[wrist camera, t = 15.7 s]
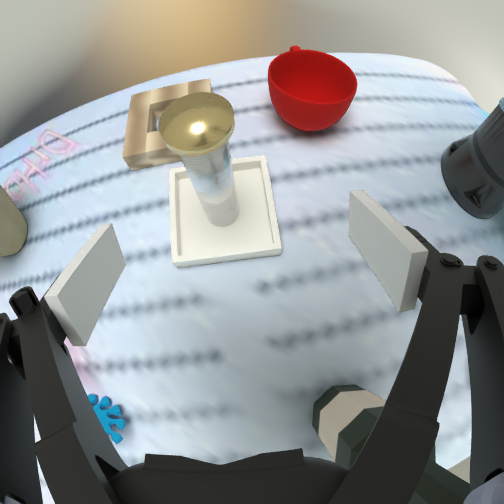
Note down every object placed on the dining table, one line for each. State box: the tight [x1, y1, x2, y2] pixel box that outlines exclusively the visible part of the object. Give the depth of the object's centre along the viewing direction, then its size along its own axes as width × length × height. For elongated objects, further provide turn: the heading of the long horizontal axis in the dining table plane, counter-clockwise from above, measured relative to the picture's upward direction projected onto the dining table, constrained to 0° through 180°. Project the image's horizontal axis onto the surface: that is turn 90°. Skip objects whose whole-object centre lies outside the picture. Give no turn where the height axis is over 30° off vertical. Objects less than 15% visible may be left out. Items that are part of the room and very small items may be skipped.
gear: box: [88, 394, 125, 444], centre depth 30 cm, size 11×6×10 cm
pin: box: [159, 92, 239, 227], centre depth 30 cm, size 6×6×19 cm
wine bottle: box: [312, 385, 470, 504], centre depth 18 cm, size 8×8×30 cm
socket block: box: [123, 79, 212, 171], centre depth 43 cm, size 14×14×4 cm
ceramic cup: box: [268, 46, 357, 131], centre depth 41 cm, size 13×17×10 cm
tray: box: [169, 155, 282, 268], centre depth 39 cm, size 14×14×3 cm
